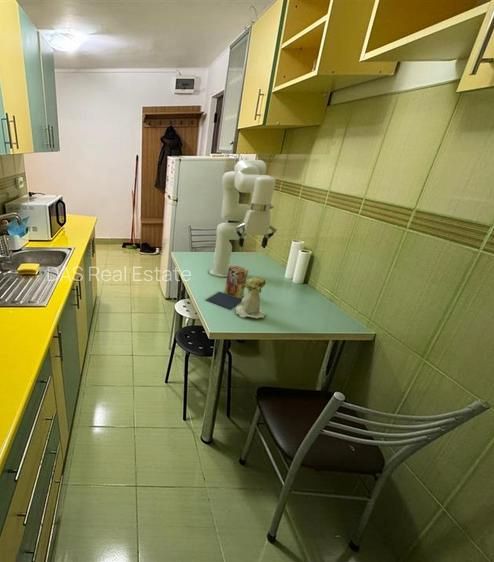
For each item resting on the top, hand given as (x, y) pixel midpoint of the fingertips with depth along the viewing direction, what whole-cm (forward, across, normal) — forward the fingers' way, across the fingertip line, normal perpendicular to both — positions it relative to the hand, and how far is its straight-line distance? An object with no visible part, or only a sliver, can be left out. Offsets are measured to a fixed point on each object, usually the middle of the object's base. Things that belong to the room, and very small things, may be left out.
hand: (251, 246), depth 134 cm
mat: (+31, +5, -8) cm, 33 cm away
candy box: (+31, -1, -15) cm, 35 cm away
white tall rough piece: (+31, -4, +5) cm, 32 cm away
